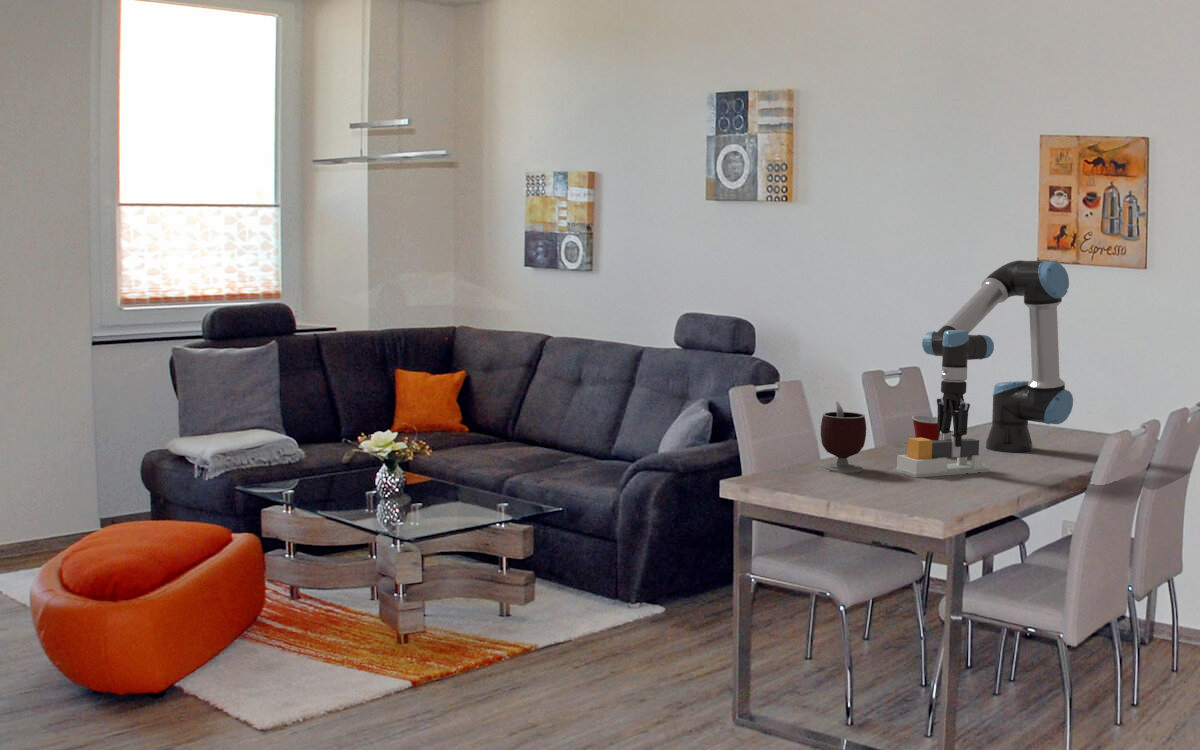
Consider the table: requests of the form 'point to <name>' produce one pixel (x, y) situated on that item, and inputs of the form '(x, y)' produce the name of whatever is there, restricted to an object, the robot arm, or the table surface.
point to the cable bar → (939, 448)
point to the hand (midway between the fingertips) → (950, 455)
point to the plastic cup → (926, 427)
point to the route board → (938, 466)
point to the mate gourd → (843, 438)
